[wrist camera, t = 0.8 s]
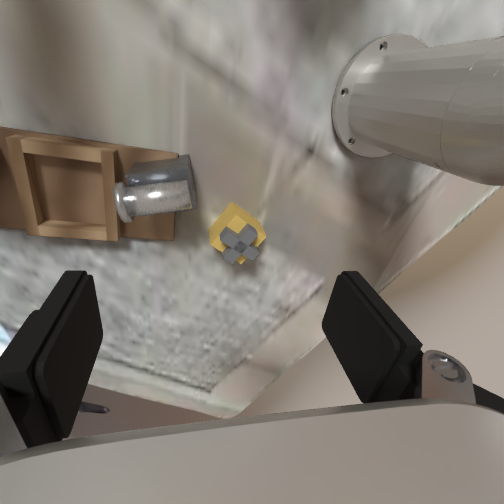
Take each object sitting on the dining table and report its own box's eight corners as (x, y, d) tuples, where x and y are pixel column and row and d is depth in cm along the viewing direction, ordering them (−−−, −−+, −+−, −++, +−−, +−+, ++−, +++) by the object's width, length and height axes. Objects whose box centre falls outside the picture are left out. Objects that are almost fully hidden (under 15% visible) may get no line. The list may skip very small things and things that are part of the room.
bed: (178, 153, 33) (176, 158, 30) (173, 237, 38) (172, 247, 36) (-56, 118, 28) (-79, 121, 25) (-23, 221, 33) (-40, 232, 30)
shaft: (188, 154, 33) (187, 177, 25) (195, 190, 35) (195, 221, 28) (129, 161, 32) (108, 187, 24) (140, 197, 35) (124, 232, 27)
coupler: (231, 201, 37) (237, 220, 32) (259, 222, 39) (269, 242, 34) (208, 229, 38) (211, 251, 33) (237, 247, 41) (243, 271, 36)
